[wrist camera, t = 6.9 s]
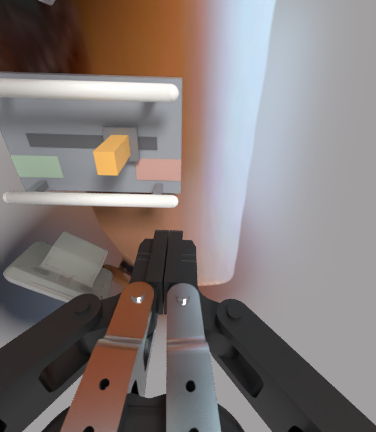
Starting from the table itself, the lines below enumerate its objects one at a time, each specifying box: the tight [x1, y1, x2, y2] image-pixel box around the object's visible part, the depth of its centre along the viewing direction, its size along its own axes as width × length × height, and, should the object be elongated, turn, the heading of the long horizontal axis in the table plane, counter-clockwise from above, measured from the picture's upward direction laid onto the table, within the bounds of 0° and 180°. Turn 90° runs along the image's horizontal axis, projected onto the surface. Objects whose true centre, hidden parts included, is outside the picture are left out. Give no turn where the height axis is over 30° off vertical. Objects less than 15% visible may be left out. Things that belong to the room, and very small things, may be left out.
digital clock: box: [3, 231, 113, 302], centre depth 40 cm, size 16×9×11 cm, turn 43°
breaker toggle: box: [93, 126, 140, 176], centre depth 25 cm, size 4×4×7 cm
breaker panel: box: [0, 71, 183, 208], centre depth 28 cm, size 14×22×9 cm, turn 88°
